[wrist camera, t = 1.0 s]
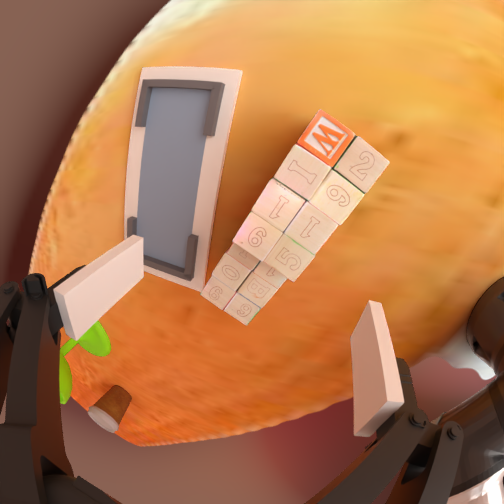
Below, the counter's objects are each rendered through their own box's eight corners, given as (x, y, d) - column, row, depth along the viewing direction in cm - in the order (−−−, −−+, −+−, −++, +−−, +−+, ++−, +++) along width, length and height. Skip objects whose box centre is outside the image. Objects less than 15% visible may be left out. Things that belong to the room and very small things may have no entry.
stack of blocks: (263, 285, 37) (237, 345, 26) (225, 258, 37) (184, 309, 26) (365, 154, 27) (392, 162, 16) (320, 120, 27) (320, 106, 16)
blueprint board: (242, 71, 27) (237, 67, 25) (203, 289, 40) (198, 296, 38) (145, 68, 28) (137, 66, 27) (127, 261, 41) (120, 266, 40)
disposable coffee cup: (103, 377, 62) (80, 406, 51) (127, 385, 59) (103, 416, 48) (118, 399, 65) (98, 426, 54) (142, 407, 62) (122, 437, 52)
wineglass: (122, 357, 54) (77, 410, 38) (86, 354, 59) (47, 396, 43) (86, 297, 49) (28, 346, 33) (55, 303, 54) (8, 342, 38)
